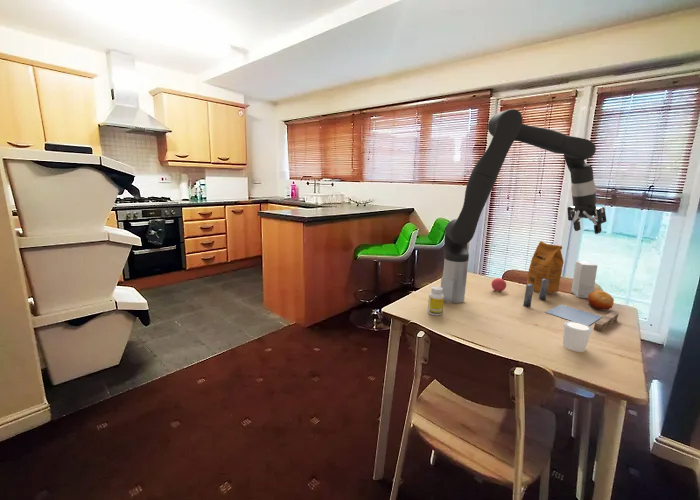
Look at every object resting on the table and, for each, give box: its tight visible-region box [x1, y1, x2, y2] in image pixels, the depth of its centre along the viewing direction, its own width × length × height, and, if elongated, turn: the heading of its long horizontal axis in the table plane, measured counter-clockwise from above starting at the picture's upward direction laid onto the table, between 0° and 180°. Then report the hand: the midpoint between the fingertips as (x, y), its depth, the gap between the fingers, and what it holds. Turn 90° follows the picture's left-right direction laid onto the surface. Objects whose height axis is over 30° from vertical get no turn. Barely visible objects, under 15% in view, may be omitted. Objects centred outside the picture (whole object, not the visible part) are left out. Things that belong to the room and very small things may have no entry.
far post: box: [538, 278, 549, 302], centre depth 135 cm, size 3×3×9 cm
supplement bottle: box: [427, 286, 445, 316], centre depth 119 cm, size 5×5×10 cm
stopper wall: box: [593, 311, 619, 332], centre depth 113 cm, size 16×2×2 cm, turn 126°
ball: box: [491, 277, 507, 292], centre depth 144 cm, size 6×6×6 cm
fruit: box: [587, 290, 615, 311], centre depth 127 cm, size 8×8×8 cm
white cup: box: [562, 320, 593, 353], centre depth 97 cm, size 7×7×7 cm
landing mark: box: [544, 303, 603, 327], centre depth 121 cm, size 14×14×1 cm
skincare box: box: [570, 260, 598, 299], centre depth 140 cm, size 8×6×15 cm
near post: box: [522, 283, 534, 308], centre depth 127 cm, size 3×3×9 cm
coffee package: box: [526, 240, 564, 295], centre depth 145 cm, size 10×12×22 cm
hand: (587, 231), depth 129 cm, fingers open, 8 cm apart
